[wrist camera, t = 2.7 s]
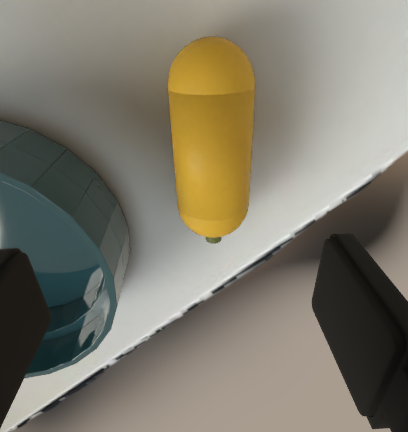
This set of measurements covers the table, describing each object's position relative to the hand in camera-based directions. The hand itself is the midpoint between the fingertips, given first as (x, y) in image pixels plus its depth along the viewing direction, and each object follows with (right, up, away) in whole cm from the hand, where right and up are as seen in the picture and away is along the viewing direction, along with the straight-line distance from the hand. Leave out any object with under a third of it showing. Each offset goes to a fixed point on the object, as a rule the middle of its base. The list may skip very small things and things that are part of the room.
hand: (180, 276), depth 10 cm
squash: (0, +7, +12) cm, 14 cm away
